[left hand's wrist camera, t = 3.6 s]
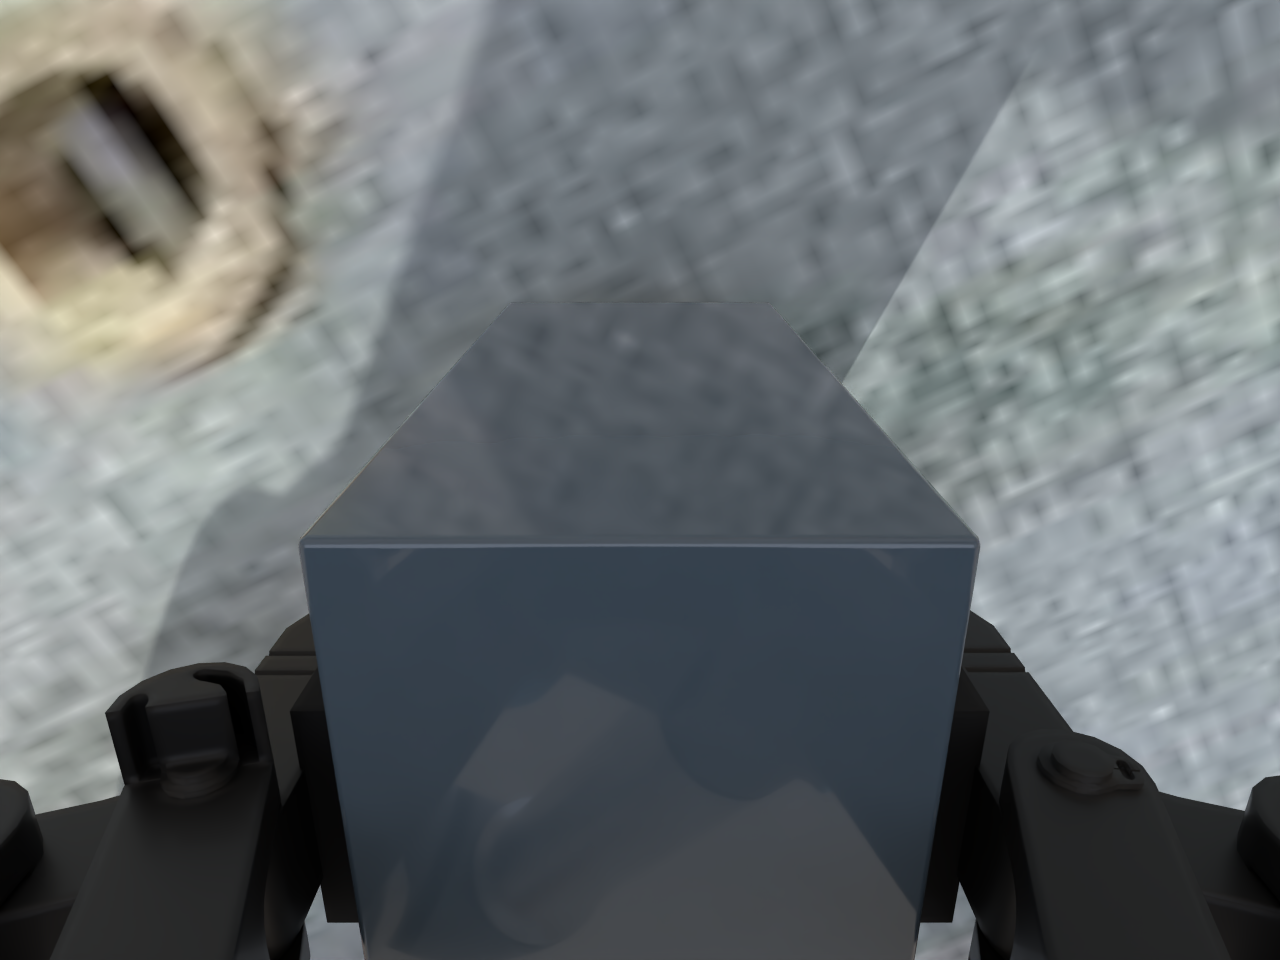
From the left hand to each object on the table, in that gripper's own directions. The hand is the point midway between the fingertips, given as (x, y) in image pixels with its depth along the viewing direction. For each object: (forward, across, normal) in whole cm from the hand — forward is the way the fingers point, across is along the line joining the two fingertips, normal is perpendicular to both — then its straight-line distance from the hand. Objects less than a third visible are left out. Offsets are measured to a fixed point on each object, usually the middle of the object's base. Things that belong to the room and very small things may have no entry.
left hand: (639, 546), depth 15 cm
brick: (+4, 0, 0) cm, 4 cm away
